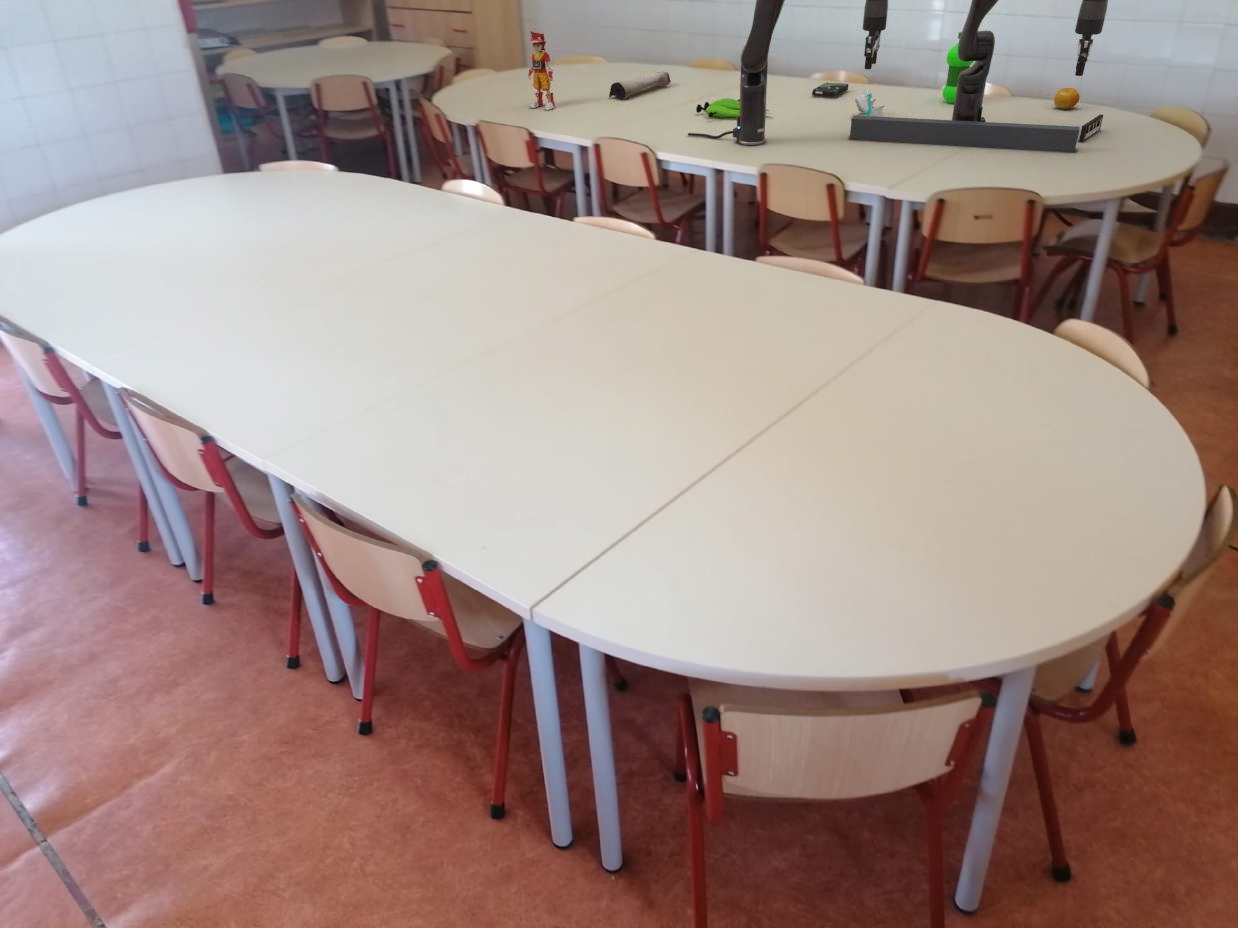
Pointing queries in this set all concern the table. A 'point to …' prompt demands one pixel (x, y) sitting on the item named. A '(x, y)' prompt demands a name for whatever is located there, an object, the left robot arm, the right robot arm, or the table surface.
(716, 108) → the toy
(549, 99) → the toy
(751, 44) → the left robot arm
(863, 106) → the anatomical model
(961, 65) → the plastic bottle
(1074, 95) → the fruit
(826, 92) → the disk drive
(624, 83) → the rolled mat
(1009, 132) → the post
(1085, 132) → the midi keyboard
